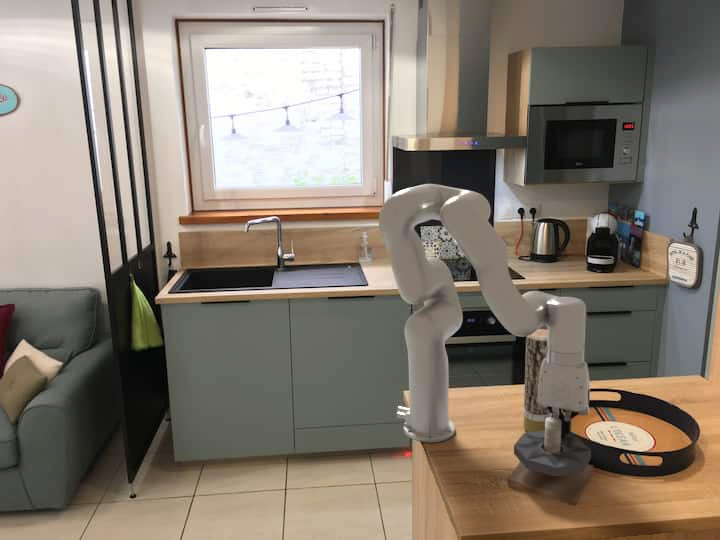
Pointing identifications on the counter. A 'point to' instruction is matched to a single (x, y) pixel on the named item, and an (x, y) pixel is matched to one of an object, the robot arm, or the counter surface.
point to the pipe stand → (548, 485)
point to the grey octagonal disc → (552, 454)
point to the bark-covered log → (534, 382)
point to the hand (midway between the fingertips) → (562, 434)
